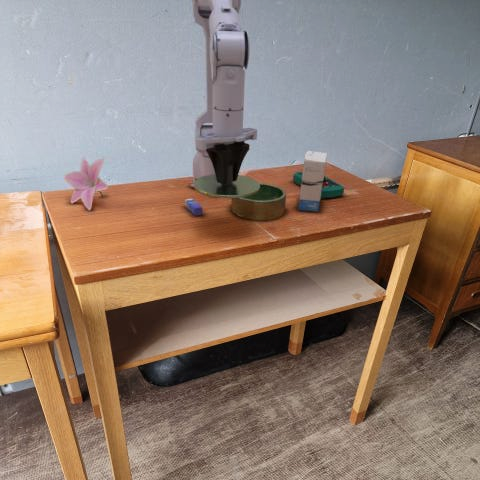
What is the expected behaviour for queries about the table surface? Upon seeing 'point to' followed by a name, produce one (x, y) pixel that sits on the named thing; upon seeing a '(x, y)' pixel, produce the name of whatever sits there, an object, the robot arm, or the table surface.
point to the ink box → (312, 181)
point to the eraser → (193, 207)
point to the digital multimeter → (328, 187)
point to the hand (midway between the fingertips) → (226, 181)
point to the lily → (86, 182)
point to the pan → (261, 203)
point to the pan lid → (227, 185)
